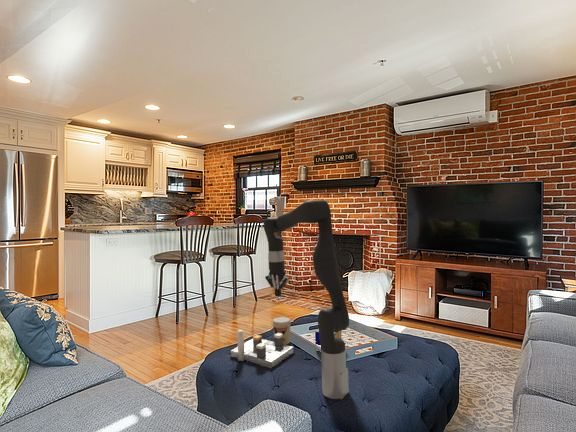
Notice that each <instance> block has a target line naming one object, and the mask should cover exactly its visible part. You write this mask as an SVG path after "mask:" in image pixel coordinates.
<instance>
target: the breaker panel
mask: <svg viewBox="0 0 576 432" xmlns="http://www.w3.org/2000/svg"><path fill="white" fill-rule="evenodd" d="M262 344H266V356H264V357H263V358H260V357H257V348H254V347H253V338H251V339H250V340H248V341H244V351H245V354H244V358H245V360H247V361H246V362H248V361H251V362H254V363H253V364H255V363H257V364H256V365H258V364H260V365H259V366H262V367H264V368H269V369H273V368H274V367H276V366H277V365H278V364H280V363H281V362H282V360H283V361H284V360H285V359H287V358H288V357H290V356H291V355H294V346H291V345H289V344H286V345H285V344H283V345H281V346H280V347H279V346H275V341H273V340H269V339H268V340H267V339H263V338H262ZM289 355H290V356H289ZM230 357H231V358H234V357H236V358H235V359H238V346H237V347H234V348H233V349H231V350H230ZM286 357H287V358H286ZM251 362H250V363H251ZM272 367H273V368H272Z"/></svg>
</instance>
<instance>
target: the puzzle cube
mask: <svg viewBox="0 0 576 432" xmlns="http://www.w3.org/2000/svg"><path fill="white" fill-rule="evenodd" d="M314 333H315V336H314V337H315V338H314V339H315V345H316V344H318V345H321V344H320V340H319V328H318V329H317V330H316V331H315V332H314ZM334 337H335V338H339V339H342V331H338V332H334ZM342 340H343V339H342Z"/></svg>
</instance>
